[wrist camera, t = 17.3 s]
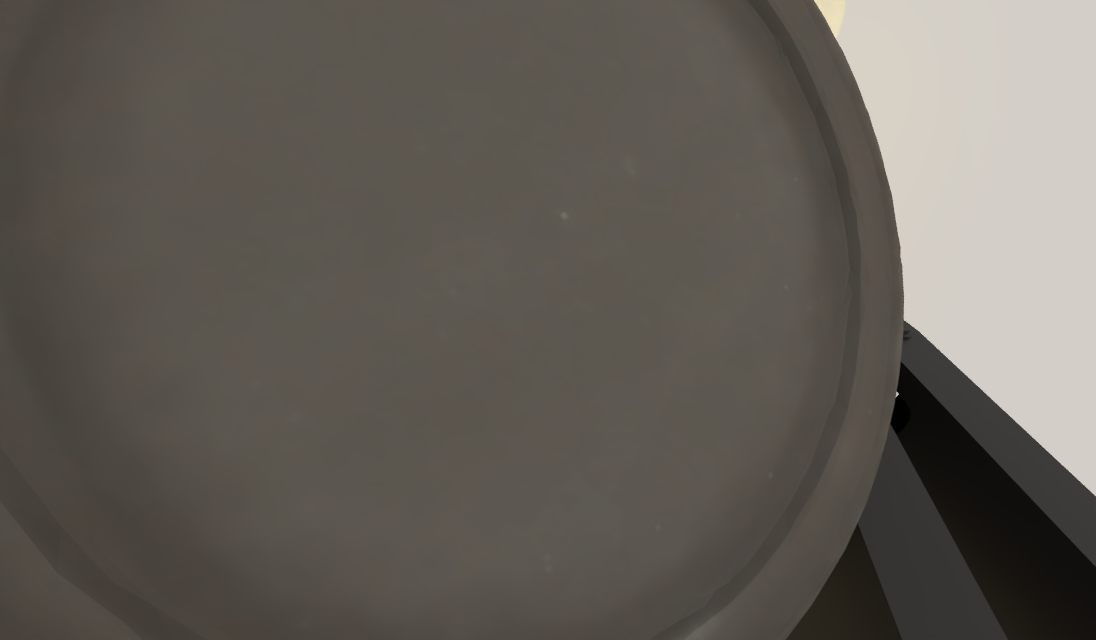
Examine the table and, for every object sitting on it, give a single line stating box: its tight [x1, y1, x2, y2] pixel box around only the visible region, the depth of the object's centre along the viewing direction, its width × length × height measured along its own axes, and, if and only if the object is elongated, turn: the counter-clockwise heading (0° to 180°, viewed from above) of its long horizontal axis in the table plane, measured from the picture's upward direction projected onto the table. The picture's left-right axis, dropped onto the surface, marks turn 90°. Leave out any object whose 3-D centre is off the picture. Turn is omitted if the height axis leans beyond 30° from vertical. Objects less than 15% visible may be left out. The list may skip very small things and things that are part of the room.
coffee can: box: [0, 0, 904, 640], centre depth 11 cm, size 10×10×14 cm
